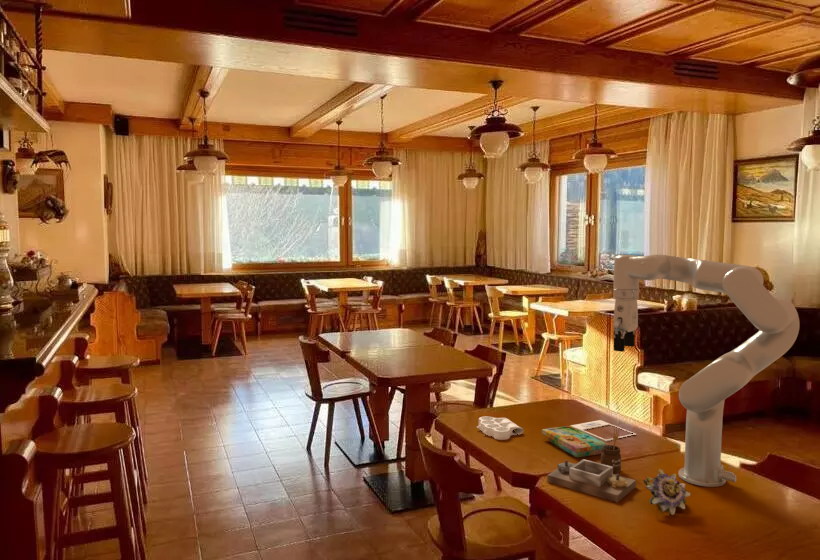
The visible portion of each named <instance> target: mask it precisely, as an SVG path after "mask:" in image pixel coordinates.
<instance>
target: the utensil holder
mask: <svg viewBox="0 0 820 560" xmlns="http://www.w3.org/2000/svg"><path fill="white" fill-rule="evenodd" d="M619 433H620V429H617V428H614V429H613V435H612V438H613V439H614V440H612V441H610V443H613V444H606V443H605V444H606V445H605V444H604V445H605V446H603V448H602V451H603V452H602V453H601V454H600V464H604V465H608V466H612V467H613V474H619V473H620V472H621V470H622V455H621V449H620V447H619V446H617V445H616V441H617V440H619V439H618V437H619ZM603 439H604V441H603V442H605V439H611V437H610V436H605V437H604V438H603Z"/></svg>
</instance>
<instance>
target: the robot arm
mask: <svg viewBox="0 0 820 560" xmlns="http://www.w3.org/2000/svg"><path fill="white" fill-rule="evenodd" d="M613 261H614V263H613V286H612V287H613V290H612V291H613V292H612V293H613V296H612V299H613V300H615V303H614V309H613V310H614V311H613V351H615V352H620V353H621V352H622V353H623V352H625V347H630V348H631V347H632V348H633V347H634V346H635V333H636V330H637V329H638V327H639V310H638V309H639V308H638V305H639V304H638V300H639V298H640V297H639V296H640V295H639V294H640V289H639V288H640V280H642V281H655V280H668V281H673V282H674V281H676V282H679V283H685V284H688V285H690V286H692V287H693V288H695V289H698V290H702V291H707V292H715V293H722V294H726V295H727V296H728V297H729V299H730V301H731V302H732V303H734V305H735V306H736V307H737V308H738V309H739V311H740V312H741V313H742V314H743V315H744V316H745V317H746V318H747V320H748V321H749V322H750V323H751V324H752V325H753V326H754V327H755V328H756V329H757V330H758V331H757V332H756V333H754V334H753V335H752V336H750V337H749V338H747V340H745V341H744V342H742V343H741V344H740V345H738V346H737V347H735V348H734V349H732V350H731V351H729V352H726V353H724V354H723V355H721V356H719V357H718V358H716V359H715V360H713V361H712V362H711V363H709V364H708V365H706V366H705V367H704V368H702V369H701V370H699V371H698V372H697V373H695V374H694V375H693V376H691V377H690V378H688V379H687V380H685V381H684V382H682V384H681V385H680V388H679V391H678V399H679V402H680V404H681V405H682V407H684V408H685V410H686V416H685V417H686V419H685V438H684V439H685V440H684V441H685V442H684V445H685V446H684V466H683V467H682V468H680V469H679V470H678V477H679V478H680V479H681V480H683V481H685V482H686V483H689V484H692V485H695V486H700V487H708V488H711V487H712V488H716V487H717V488H718V487H721V486H724V485H725V484H726V482H727V481H728V482H733V483H736V482H737V475H736V474H735V473H734V472H731V471H728V470H726V469H724V465H723V464H721V461H722V460H721V458H722V440H723V439H722V437H723V436H722V435H723V432H722V431H723V417H724V407H725V402H726V401H725V400H726V399H727V398H729V397H731V396H732V395H734V394H736V392H738V391H739V390H741V389H742V388H744V386H746V385H747V384H748V383H749V382H750V381H751V380H752V379H753V378H754V377H755V376H756V375H757V374H759V373H760V372H762V371H763V370H765V369H766V368H768V367H769V366H771V365H772V364H773V363H774V362H775V361H777V360H778V359H780V358H782V356H783V355H785V354H786V353H787V352H788V351H789V350H790V349H791V348H792V347H793V345H794V344H795V342H796V340H797V337H798V335H799V333H800V332H799V331H800V317H799V313H798V311H797V308H796V307H795V306H794V304H793V303H791V302H790V301H789V300H786V299H783V298H777V297H776V298H775V297H774V296H773V294H771V292H769V290H768V289H767V288H766V287H765V285H764V275H763V274H762V272H761V271H760V270H759V269H758V268H756V267H754V266H751V265H743V264H736V263H729V262H728V263H727V262H719V261H712V260H706V259H699V258H698V259H695V258H688V257H687V258H686V257H682V256H676V255H675V256H674V255H673V256H672V255H667V254H650V255H642V256H638V255H635V254H619V255H616V256H615V258H614V260H613Z"/></svg>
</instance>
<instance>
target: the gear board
mask: <svg viewBox="0 0 820 560" xmlns="http://www.w3.org/2000/svg"><path fill="white" fill-rule="evenodd" d="M546 478H547V480H546V481H547V482H548V483H551V484H555V485H558V486H560V487H563V488H568V489H571V490H574V491H577V492H581V493H583V494H584V493H585V494H587V495H592V496H594V497H597V496H598V497H599V498H600V499H604V500H607V499H608V501H611V502H614V501H615V503H619V502H620V501H621V500H622V499H623V498H625V496H627V495H629V493H631V492H632V491H633V490H634V489H635V488H636V486H637V480H636V479H632V478H628V477H625V476H622V475H620V474H619V473H613V467H612V466H608V465H604V464H601V462H596V461H592V460H587V459H584V458H583V459H581V460H580V461H579V462H577V463H572V462H570V461H568V460H567V459H566V460H564V462H562V463H557V468H556V469H554V470H553V471H551V472H550V473H548V474H547V477H546ZM598 497H597V498H598ZM618 501H619V502H618Z"/></svg>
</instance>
